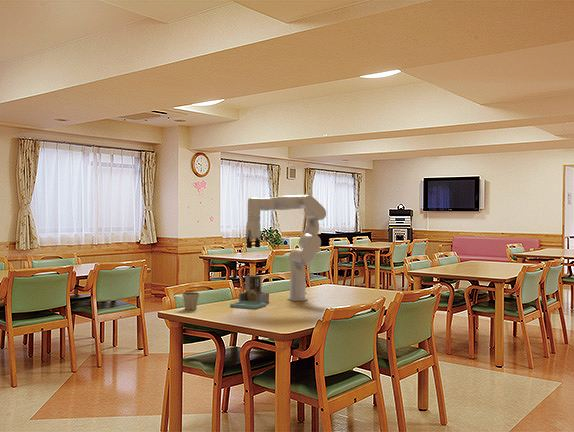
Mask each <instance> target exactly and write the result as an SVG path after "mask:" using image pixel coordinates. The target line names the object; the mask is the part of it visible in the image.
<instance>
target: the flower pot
mask: <svg viewBox="0 0 574 432" xmlns="http://www.w3.org/2000/svg"><path fill="white" fill-rule="evenodd" d="M199 296H200V292H196V291H195V292H193V291H190V292H182V297H183V304H184V310H187V311H190V310H192V311H195V310H197V308H198V300H199ZM194 309H195V310H194Z"/></svg>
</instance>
